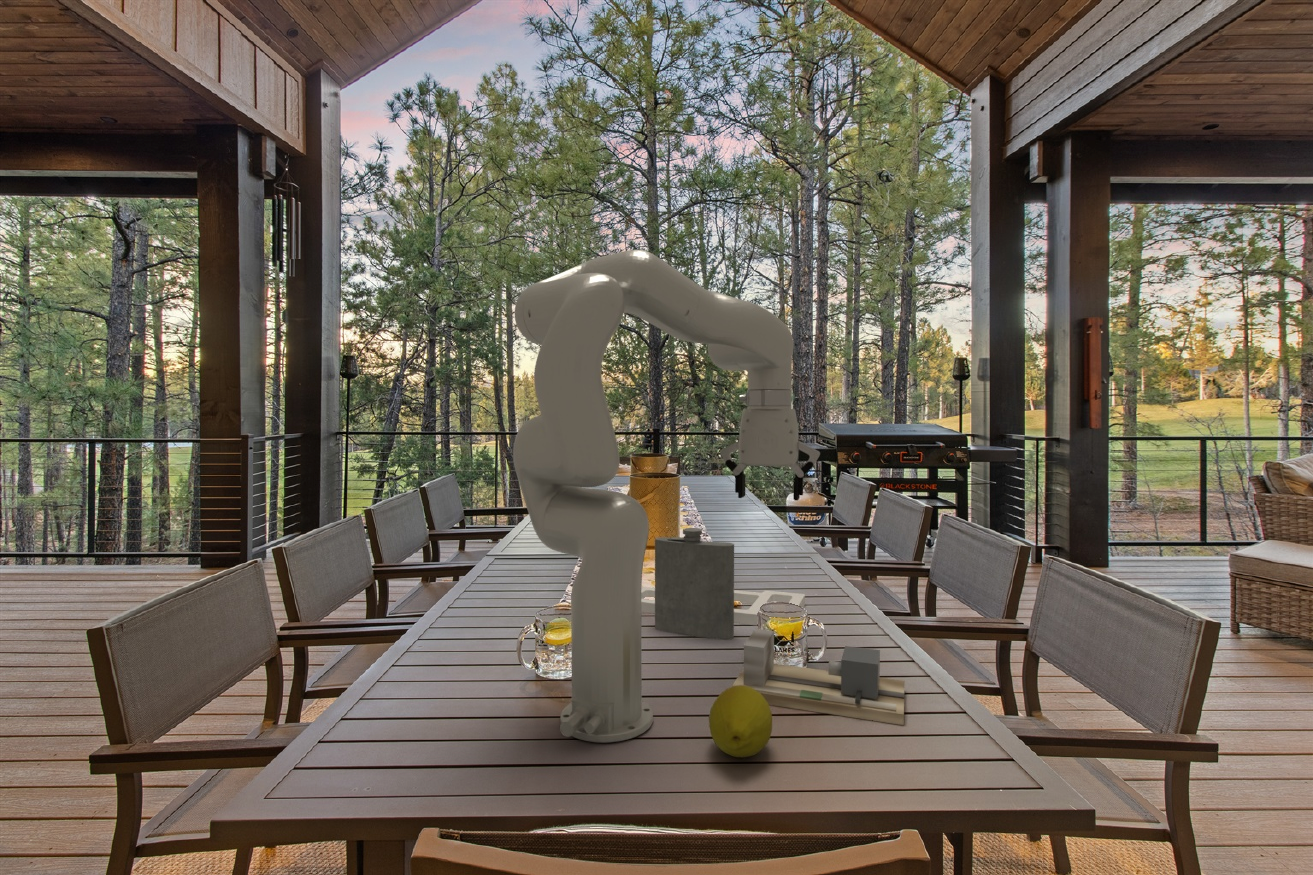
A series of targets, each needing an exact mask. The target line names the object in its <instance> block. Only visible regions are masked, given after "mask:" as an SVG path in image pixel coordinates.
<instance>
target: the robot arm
mask: <svg viewBox="0 0 1313 875" xmlns="http://www.w3.org/2000/svg"><path fill="white" fill-rule="evenodd" d="M624 314H631V315H634V316H636V317H638V318H640V319H641V320H643V321H644V322H647V323H649V324H651V325H653V326H654V327H656V328H658V329H660V330H661V331H662V332H665V333H666V334H668V335H669V336H671V337H672V338H675V339H677V340H679V341H682V342H683V341H684V342H689V343H694V344H703V345H707V352H708V356H709V359H710V361H711V362H712V363H713V364H714V365H715V366H716V367H717V368H718V369H721V370H723V371H730V372H736V371H737V372H740V371H747V390H746V392H745V393H743V394H739V402H740V403H745V404H746V406H747V408H743V409H742V412H741V417H740V418H741V419H740V426H739V434H738V435H739V436H738V441H735V442H734V443H731V444H730V445H728V446H726V447H724V448H722V449H721V450H720V451H719V454H720V456H721V458H722V460H723V461H724V463H725V467H727V468H728V469H729V470H730V471H731V472H732V473H733V475H734V482H735V483H734V486H735V487H734V492H735V494H737V498H738V499H742V498H744V497H746V474H745V473H744V472H745V470H746V469H747V467H748V466H751V467H753V466H754V467H789V468H790V469H791V470H792V472H793V473H794V474H795V475H794V477H793V500H794V501H799V499H800V496H803V495H804V476H805V475H806V474H807V473H808V472H809V471H811V469H812V468H814V466H815V464H816V463H817V460H818V459H819V457H820V455H821V452H820V450H817V449H815V448H813V447H812V446H810V445H807V443H804V442H801V440H800V439H799V427H798V425H799V424H798V419H797V414H796V413H797V412H796V409H795V408H792V377H793V376H792V372H793V371H792V367H793V366H792V363H793V361H792V356H793V353H794V350H795V349H794V347H795V343H794V339H793V335H792V333H791V331H790V329H789V328H788V326H787V325H786V324H785V323H784V322H783V321H782V320H781V319H780V318H779V317H777V316H776V315H775V314H773V313H772V312H771V311H770V310H768V309H766V308H764V307H762V306H760V305H758V304H756V303H754V302H750V301H747V300H744V299H741V298H737V297H734V296H729V295H727V294H724V293H722V292H717V291H713V290H709V289H705V288H704V287H702V286H701V285H699V284H697V283H696V282H695V281H693V280H692V279H690V278H689V277H688V276H686V275H685V274H683V273H681V271H678V270H677V269H676V268H675V267H673V266H671V265H670V264H669V263H667V262H666V261H664V260H662V259H661V258H660V257H658V256H657V255H656V254H654V253H651V252H649V251H646V250H644V249H630V250H624V251H620V252H616V253H611V254H608V255H604V256H599V257H595V258H592V259H589V260H587V261H585V262H583V263H580V264H578V265H576V266H573V267H571V268H569V269H566V270H564V271H562V272H560V273H559V272H558V273H557V274H554V275H552V276H549V277H548V278H545V279H543V280H540V281H537V282H535V283H533V284H531V285H529V286H528V287H526V288H525V289H524V290H523V291H522V292H521V293H520V295H519V296H518V297H517V300H516V303H515V307H514V321H515V324H516V327H517V330H519V332H520V334H521V335H522V336H523V337H524V338H525V339H526V340H527V341H530V342H531V343H533V344H536V345H539V346H540V348H539V351H538V354H537V358H536V361H535V366H534V373H533V374H534V376H533V378H534V379H533V382H534V383H533V384H534V390H535V394H536V399H537V402H538V408H539V412H540V415H537V416H534V417H532V418H530V419H528V420H527V421H526V422H524V423H523V424H522V425H521V427H520V428H519V429H518V431H517V433H516V435H515V437H514V438H515V439H514V443H513V448H512V449H513V451H512V458H513V459H512V460H513V466H514V470H515V473H516V478H517V480H518V483H519V486H520V487H519V488H520V490H521V493H522V495H523V499H524V503H525V506H526V508H527V512H528V516H529V519H530V522H531V524H532V527H533V531H535V534H536V536H537V538H538V539H539V540H540V542H541V543H542V544H544V546H545V547H547V548H549V549H551V550H553V551H556V552H560V553H561V554H566V555H570V556H574V557H578V558H581V564H580V567H579V569H578V571H577V574H576V575H575V578H574V579H573V580H574V581H573V583H572V586H571V595H570V613H571V614H570V616H571V618H570V621H571V623H570V626H571V627H570V628H571V629H570V630H571V634H570V637H571V645H570V646H571V648H570V649H571V702H570V703H569V704H567V705H566V706H565V707H564V708H562V711H561V712H560V717H559V718H560V720H559V721H560V726H559V730H560V733H561V735H563V736H564V737H567V738H568V737H573V738H575V739H577V740H581V741H583V742H584V741H586V742H592V743H603V744H604V743H615V742H617V743H618V742H622V741H623V742H624V741H625V740H627V741H628V740H631V739H634V738H636V737H638V736H640V735H642V734H644V733H645V732H646V731H648V730H649V729H650V727H652V724H653V721H654V712H653V709H652V707H651V706H650V705H649V704H648V703H647V702H645V701H644V700H642V698H643V696H642V695H643V694H642V687H643V686H642V683H643V682H642V672H643V671H642V664H643V663H642V661H643V660H642V653H643V652H642V623H643V622H642V621H643V620H642V612H641V587H643V586H642V582H643V580H642V579H643V568H644V562H645V555H646V550H647V544H648V541H649V540H648V539H649V534H650V522H649V517H648V515H647V511H646V510H645V508H644V506H643V505H642V504H641V503H640V501H638V500H637V499H635V498H634V497H632V496H631V495H629V494H626V493H623V492H619V491H615V490H609V489H607V490H606V489H600V488H596V487H600V486H603V485H606V484H608V483H610V481H612V480H613V479H614V478H615V476H616V475H617V473H618V471H619V468H620V449H619V446H618V442H617V437H616V433H615V429H614V426H613V422H612V418H611V414H610V409H609V406H608V403H607V398H606V395H605V389H604V385H603V380H602V364H603V360H604V356H605V353H606V350H607V347H608V346H609V345H610V341H611V340H612V338H613V336H614V334H615V332H616V331H617V329H618V328H619V326H620V324H621V322H622V319H623V315H624ZM737 450H738V454H737V455H738V462H739V463H736V462H735V461H734V460H733V459H732V456H731V455H732V453H733V452H735V451H737ZM800 451H801V452H803V453H805V454H807V455H808V456H809V458H808V460H807V462H806V463H805V464H804V465H803V466H801V464H800V462H798V461H799V458H800Z"/></svg>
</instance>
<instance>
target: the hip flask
mask: <svg viewBox="0 0 1313 875" xmlns="http://www.w3.org/2000/svg"><path fill="white" fill-rule="evenodd" d="M682 534H683V535H684V536H683V537H682V536H681V537H679V536H675V537H674V536H671V537H667V536H661V537H659V536H658V537H656V538H654V588H655V614H654V628H655V629H656V630H658V631H661V632H667V633H670V634H676V635H682V636H689V637H694V636H695V637H694V638H704V639H712V640H713V639H714V640H724V641H725V640H732V639H734V638H735V623H734V609H735V603H734V590H735V544H734V543H733V542H725V541H724V542H721V541H708V540H707V541H704V540H701V539H702V538H701V537H702V536H701V535H702V534H703V529H701V528H700V527H699V528H696V527H695V528H694V527H687V528H683V529H682Z"/></svg>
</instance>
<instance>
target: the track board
mask: <svg viewBox="0 0 1313 875" xmlns="http://www.w3.org/2000/svg"><path fill="white" fill-rule="evenodd" d="M739 685H743V686H748V687H750V688H753V689H755V690H756V691H758V692H759V693H760V694H761V695H762V696H763V697H764V698H765V700H766V701H767V702H768V704H769V706H777V707H784V708H789V709H796V710H802V711H806V712H807V711H809V712H815V713H821V714H826V715H827V714H828V715H835V716H842V717H846V718H847V717H848V718H853V719H860V720H867V721H872V720H873V722H881V723H887V724H893V725H899V726H905V725H904V724H905V720H904V719H905V718H904V717H905V685H906V684H905V680H903V679H902V680H901V679H892V678H886V677H880V678H879V691H878V699H872V698H865V697H861V699H860V704H855V698H856V696H851V695H844V694H841V676H835V675H829V673H828V670H825V669H819V668H818V669H817V668H813V667H812V668H810V667H802V666H795V665H789V664H788V665H787V664H782V663H781V664H780V663H775V630H770V629H768V630H767V629H759V628H755V629H754V630H753V632H752V633H751V634H750V635H749V637H748V638H747V640H746V641H745V642H744V644H743V669H742V670H741V671H740V673H739V675H738V676H737V678H736V679H735V681H734V682H733V684H732V686H731V687H733V686H739Z"/></svg>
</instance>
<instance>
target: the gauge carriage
mask: <svg viewBox="0 0 1313 875" xmlns="http://www.w3.org/2000/svg"><path fill="white" fill-rule="evenodd" d="M880 659H881V650H880V649H874V648H873V649H872V648H864V647H856V646H848V645H845V646H844V649H843V652H842V657H841V659H840V661H836V660H835V661H834V660H829V661H828V670H827V671H828V673H829V675H835V676H841V694H844V695H851V696H856V698H855V704H860V699H861V697H865V698H872V699H878V691H879V678H881V677H880V676H881V675H880V671H881V670H880V669H881V667H880V665H881V663H880V661H881V660H880Z"/></svg>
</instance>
